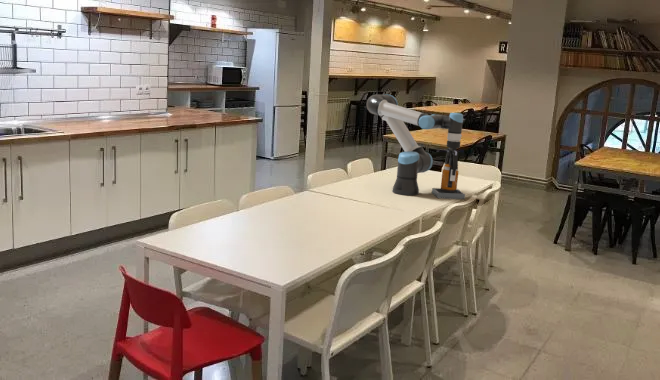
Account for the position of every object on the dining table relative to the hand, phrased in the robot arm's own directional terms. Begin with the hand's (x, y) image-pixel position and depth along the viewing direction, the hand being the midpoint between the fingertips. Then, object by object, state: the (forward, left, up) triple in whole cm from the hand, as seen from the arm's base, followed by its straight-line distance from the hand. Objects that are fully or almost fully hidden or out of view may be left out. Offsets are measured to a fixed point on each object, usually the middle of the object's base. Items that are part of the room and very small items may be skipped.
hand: (449, 179), depth 354 cm
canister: (0, 0, -8) cm, 8 cm away
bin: (0, 0, -10) cm, 10 cm away
